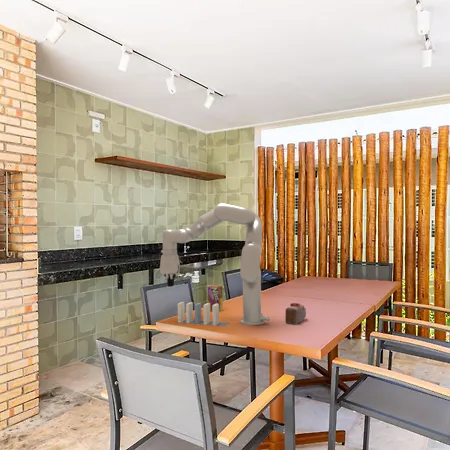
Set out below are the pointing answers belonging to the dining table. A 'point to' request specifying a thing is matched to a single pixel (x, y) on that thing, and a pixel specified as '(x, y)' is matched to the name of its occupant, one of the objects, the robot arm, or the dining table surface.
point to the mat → (207, 324)
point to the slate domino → (198, 313)
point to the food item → (295, 313)
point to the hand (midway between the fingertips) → (170, 286)
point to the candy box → (215, 296)
